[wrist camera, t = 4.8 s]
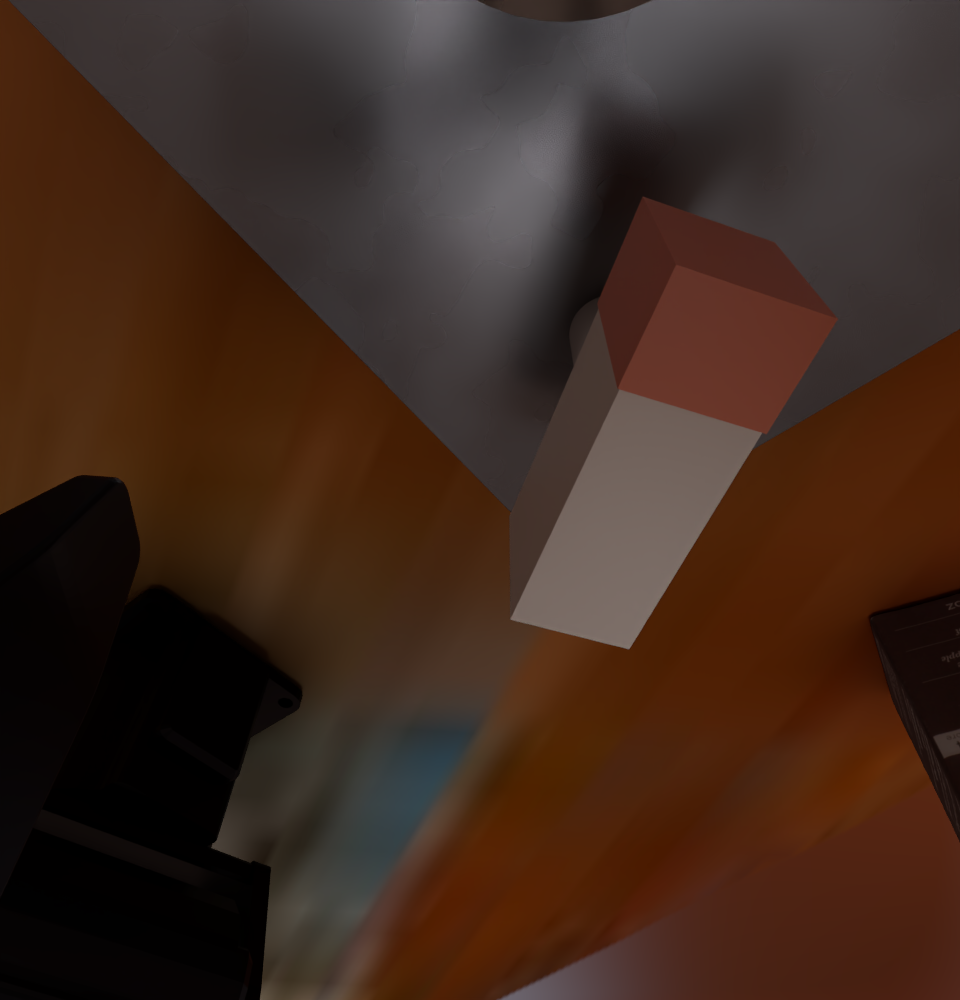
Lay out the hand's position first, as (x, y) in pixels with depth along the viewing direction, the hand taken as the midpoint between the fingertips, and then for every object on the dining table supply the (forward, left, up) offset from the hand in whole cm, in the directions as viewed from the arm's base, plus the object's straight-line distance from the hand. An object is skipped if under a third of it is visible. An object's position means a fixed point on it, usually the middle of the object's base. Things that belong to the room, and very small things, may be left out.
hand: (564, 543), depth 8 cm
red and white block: (0, -3, -11) cm, 11 cm away
